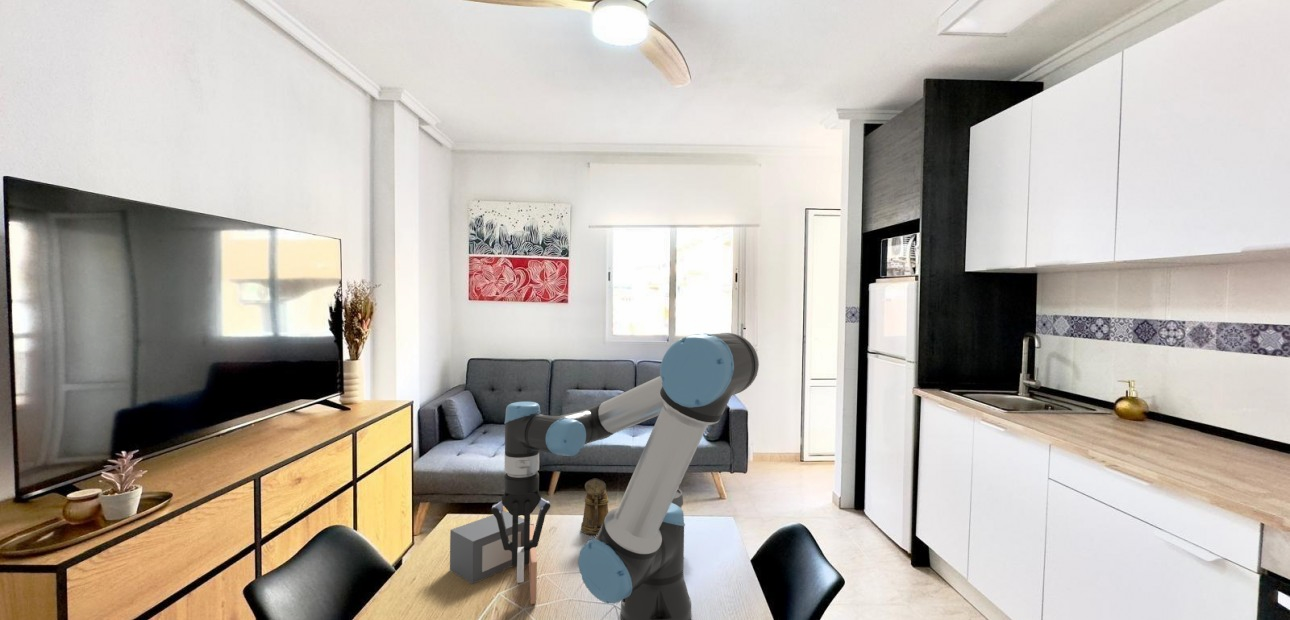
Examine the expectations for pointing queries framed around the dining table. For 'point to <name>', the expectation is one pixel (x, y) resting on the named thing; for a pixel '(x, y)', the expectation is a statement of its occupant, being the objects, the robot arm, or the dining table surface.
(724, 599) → the dining table surface
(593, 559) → the robot arm
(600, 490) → the bronze figurine
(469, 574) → the case
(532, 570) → the side door
